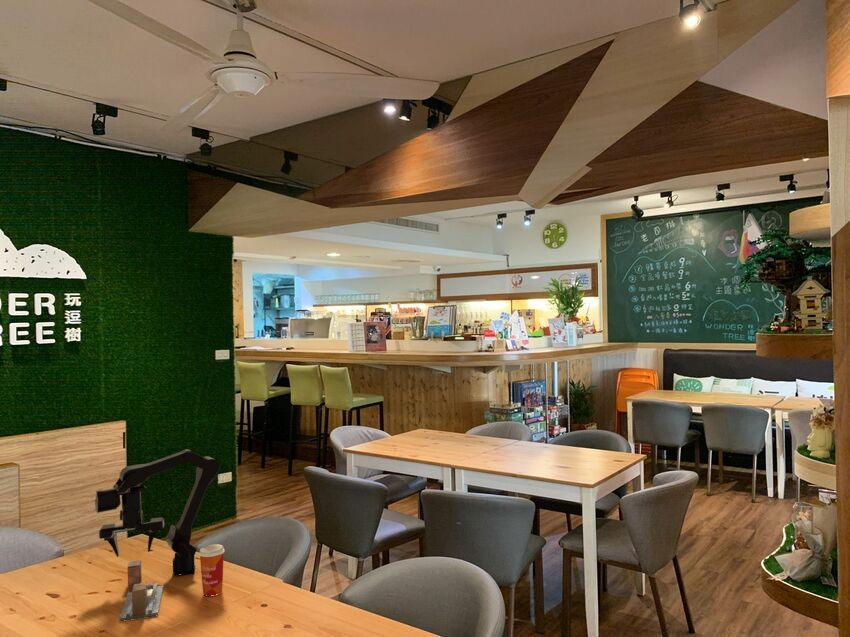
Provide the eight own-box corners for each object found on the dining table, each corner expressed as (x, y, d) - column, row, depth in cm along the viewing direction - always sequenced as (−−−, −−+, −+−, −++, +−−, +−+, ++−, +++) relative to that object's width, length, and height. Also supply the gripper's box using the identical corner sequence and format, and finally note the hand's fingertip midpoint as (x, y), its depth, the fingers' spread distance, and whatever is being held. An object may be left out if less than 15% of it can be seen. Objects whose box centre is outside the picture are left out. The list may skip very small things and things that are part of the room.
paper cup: (194, 595, 190) (193, 550, 190) (213, 586, 197) (212, 542, 197) (212, 600, 186) (211, 554, 186) (231, 590, 193) (230, 545, 193)
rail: (163, 588, 196) (162, 563, 196) (158, 615, 177) (157, 587, 177) (128, 593, 193) (128, 568, 193) (119, 622, 174) (119, 593, 174)
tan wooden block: (141, 580, 203) (141, 559, 203) (139, 587, 197) (139, 565, 197) (129, 582, 201) (129, 561, 202) (127, 589, 196) (127, 567, 196)
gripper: (164, 495, 211) (166, 541, 211) (103, 503, 205) (105, 550, 205) (161, 504, 200) (163, 552, 200) (97, 512, 194) (99, 562, 194)
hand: (133, 553), depth 200 cm, fingers open, 9 cm apart
